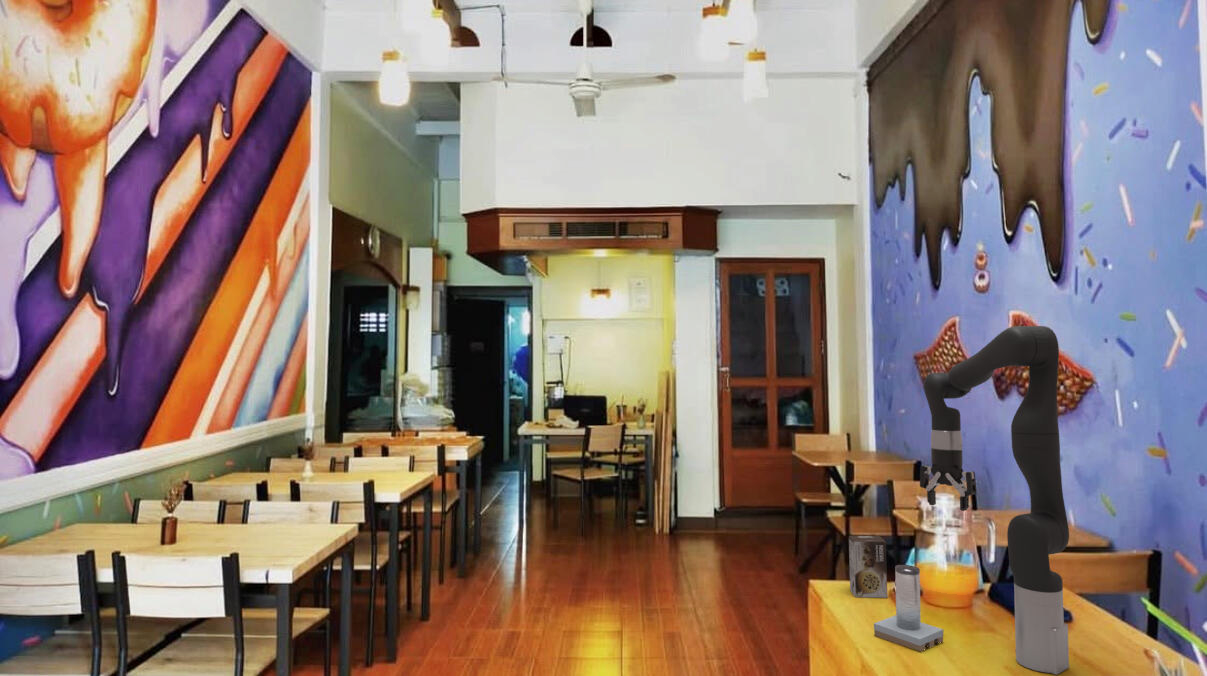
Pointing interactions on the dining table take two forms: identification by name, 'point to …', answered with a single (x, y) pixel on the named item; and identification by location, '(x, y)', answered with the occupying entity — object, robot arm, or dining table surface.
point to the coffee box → (868, 566)
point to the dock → (908, 634)
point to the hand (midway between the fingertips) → (947, 507)
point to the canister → (908, 597)
